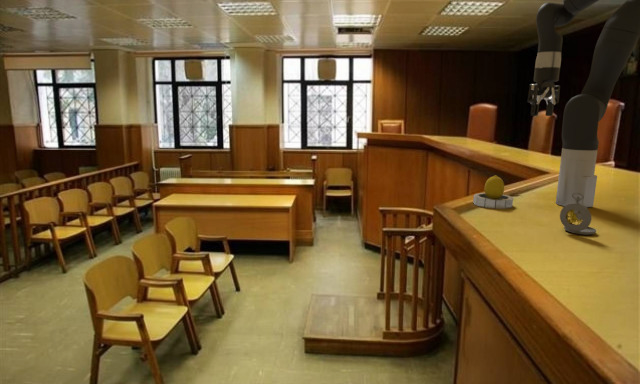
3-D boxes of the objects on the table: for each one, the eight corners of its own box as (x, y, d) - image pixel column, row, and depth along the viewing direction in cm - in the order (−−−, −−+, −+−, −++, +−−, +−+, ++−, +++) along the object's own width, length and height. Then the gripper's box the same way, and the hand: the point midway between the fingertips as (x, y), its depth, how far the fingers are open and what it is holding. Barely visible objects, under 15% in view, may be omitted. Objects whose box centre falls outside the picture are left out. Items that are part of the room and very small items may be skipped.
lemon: (500, 204, 130) (503, 177, 128) (481, 201, 133) (484, 175, 131) (504, 201, 134) (507, 175, 133) (485, 198, 137) (488, 173, 136)
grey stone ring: (519, 206, 132) (520, 198, 131) (496, 210, 126) (496, 201, 126) (489, 199, 141) (490, 191, 140) (465, 202, 135) (466, 194, 135)
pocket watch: (591, 230, 107) (597, 189, 105) (601, 239, 99) (607, 196, 97) (554, 226, 109) (559, 187, 107) (560, 235, 102) (565, 193, 100)
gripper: (549, 68, 153) (543, 115, 156) (524, 66, 146) (518, 115, 149) (570, 67, 147) (564, 116, 150) (545, 64, 140) (539, 116, 143)
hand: (541, 116), depth 150 cm, fingers open, 8 cm apart
